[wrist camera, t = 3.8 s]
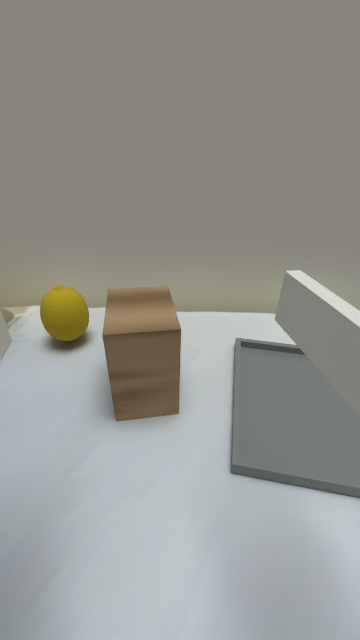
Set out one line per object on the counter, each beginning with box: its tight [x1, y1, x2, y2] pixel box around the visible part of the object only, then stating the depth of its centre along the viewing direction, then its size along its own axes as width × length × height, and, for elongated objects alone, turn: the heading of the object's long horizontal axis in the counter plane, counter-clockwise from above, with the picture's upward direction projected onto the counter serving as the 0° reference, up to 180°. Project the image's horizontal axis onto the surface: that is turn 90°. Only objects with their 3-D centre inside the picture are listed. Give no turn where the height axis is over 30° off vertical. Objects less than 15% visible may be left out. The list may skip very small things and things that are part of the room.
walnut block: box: [103, 286, 181, 421], centre depth 27 cm, size 8×6×10 cm
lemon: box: [40, 285, 89, 341], centre depth 34 cm, size 6×6×8 cm
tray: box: [231, 338, 360, 498], centre depth 28 cm, size 17×17×1 cm
